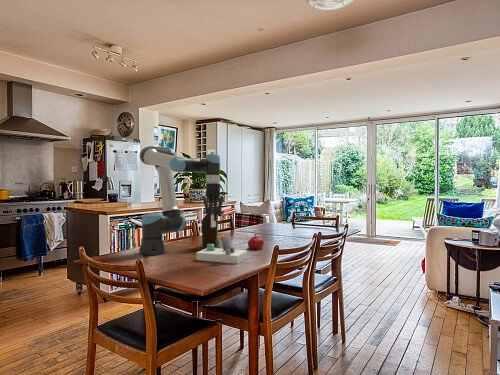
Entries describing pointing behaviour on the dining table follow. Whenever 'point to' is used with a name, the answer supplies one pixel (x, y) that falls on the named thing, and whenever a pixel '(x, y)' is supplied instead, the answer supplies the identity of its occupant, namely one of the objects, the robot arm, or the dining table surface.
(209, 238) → the olive oil
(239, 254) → the panel
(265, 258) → the dining table surface
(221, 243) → the electrical switch
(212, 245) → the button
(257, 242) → the pomegranate
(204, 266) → the dining table surface
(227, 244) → the lever
